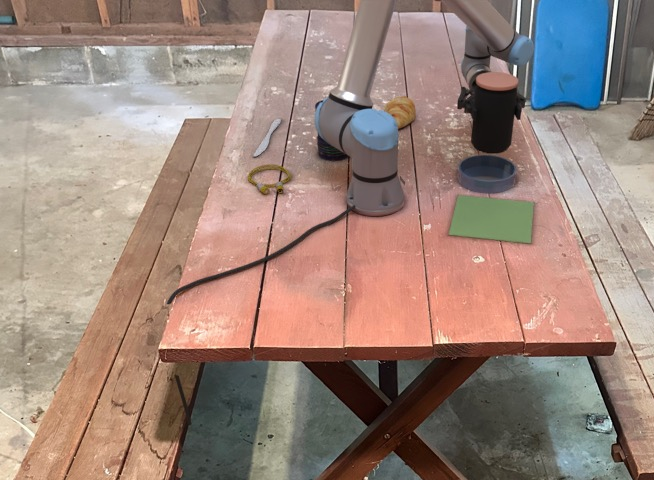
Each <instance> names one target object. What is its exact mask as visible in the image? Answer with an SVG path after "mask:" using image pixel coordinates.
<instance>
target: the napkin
mask: <svg viewBox="0 0 654 480" xmlns="http://www.w3.org/2000/svg"><path fill="white" fill-rule="evenodd" d="M534 205H535V202H534V201H526V200H525V201H524V200H513V199H504V198H493V197H485V196H484V197H483V196H472V195H464V194H463V195H462V194H457V198H456V202H455V207H454V211H453V215H452V219H451V223H450V227H449V231H448V236H451V237H452V236H453V237H462V238H472V239H480V240H489V241H499V242H509V243H518V244H528V245H531V244H532V231H533V217H534Z"/></svg>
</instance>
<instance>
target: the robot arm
mask: <svg viewBox="0 0 654 480" xmlns="http://www.w3.org/2000/svg"><path fill="white" fill-rule="evenodd" d="M434 2H441V3H443V5H445V6H446V7H447V9H449V10H450V11H451V12H452V13H453V14H454V15H455V16H456V17H457V18H458V19H459V20H460V21H461V22H462V23H463V24H465V26H466V27H465V39H464V54H463V59H462V61H461V63H460V70H461V74H462V77H463V78H464V81H465V83H466V85H467V87H468V88H466V86H461V87H460V94H459V96H458V98H457V104H456V109H457V110H462V109H463V113H465V114H470V117H471V119H472V122H473V121H476V116H477V110H476V107H475V105H474V98H475V87H476V86H477V83H476V77H477V76H478V75H480V74H483V73H488V72H493V71H492V69H491V57H493V58H495V59H498V60H501V61H503V62H505V63H508V64H509V65H511V66H512V65H514V66H516V67H523V66H525V65H527V64H528V63H529V62H530V60H531V59H532V58H533V55H534V53H535V52H534V51H535V45H534V41H533V40H532V39H531V38H529V37H527V36H526V35H524V34H520V33H519V32H518V31H517V30H516V29H515V28H514V27H513V26H512V25H511V24H510V23H509V22H508V21H507V20H506V19H505V18H504V17H503V16H502V14H500V12H499V11H497V9H496V8H495V7H494V6H493V5H492V4H491V3H490V2H489V1H488V0H434ZM396 4H397V0H359V2H358V7H357V10H356V14H355V17H354V21H353V26H352V30H351V32H350V37H349V41H348V44H347V49H346V51H345V52H346V53H345V55H344V59H343V63H342V68H341V71H340V74H339V79H338V82H337V85H336V86H335V87H334V88H331V89H330V90H329V93H328V96H327V97H325V98H324V99H322V100H323V102H322V103H320V104H319V105H318V107H317V109H316V112H314V119H313V121H314V127H315V130H316V132H317V135H318V134H319V135H320V136H321V137H322V138H323V139H324V140H325V141H326V142H327V143H328V144H330V145H331V146H334V147H336V148H337V149H339V150H340V151H342V152H344V153H345V154H347V155H348V156H349V158H351V168H352V176H351V179H350V183H349V186H348V189H347V192H346V198H345V199H346V205H347V207H348V208H347V209H345V210H344V211H342V212H341V213H340V214H338V215H337V216H335V217H334V218H332V219H329V220H327V221H323V222H321V223H319V224H316V225H314V226H312V227H310V228H308V229H307V230H306V231H305V232H303V233H302V234H301V235H300V236H298V237H297V238H296V239H294V240H292V242H290V243H288V244H287V245H285V246H284V247H282V248H280V249H278V250H276V251H274V252H273V253H270V254H269V255H267V256H264V257H262V258H260V259H257V260H255V261H252V262H249V263H246V264H244V265H241V266H238V267H235V268H232V269H229V270H226V271H223V272H219V273H217V274H213V275H209V276H206V277H203V278H200V279H197V280H194V281H192V282H190V283H188V284H186V285H183V286H180V287H178V288H177V289H176V290H174V291H173V292H172V294H171V295H169V298H168V300H167V302H166V305H171V304H172V303H173V301H174V299H175V298H176V297H177V296H178V295H179V294H180V293H182V292H184V291H186V290H188V289H191V288H193V287H194V286H197V285H199V284H203V283H206V282H208V281H212V280H216V279H219V278H222V277H225V276H228V275H231V274H234V273H239V272H241V271H244V270H247V269H250V268H252V267H255V266H257V265H260V264H262V263H264V262H267V261H268V260H270V259H273V258H275V257H276V256H279V255H281V254H282V253H284V252H286V251H287V250H289V249H290V248H292V247H294V246H295V245H298V243H299V242H301V241H302V240H303V239H305V238H306V237H307V236H308V235H309V234H311V233H312V232H314V231H316V230H318V229H320V228H322V227H323V228H324V227H325V226H328V225H331V224H332V223H335V222H337V221H339V220H340V219H342V218H343V217H344V216H346V215H348V214H349V213H350V212H354V213H356V214H358V215H362V216H367V217H383V216H389V215H392V214H394V213H396V212H398V211H400V210H401V209H402V208H403V207H404V205H405V192H404V190H403V187H402V184H403V185H404V186H406V181H405V180H404V179H403V177H402V176H401V175H398V172H399V169H398V168H399V138H400V134H399V129H398V125H397V122H396V120H395V119H394V117H393V116H391V115H390V114H389V113H387V112H384V110H381V109H378V110H377V109H376V108H373V107H374V102H373V101H372V98H371V91H372V88H373V86H374V85H373V84H374V81H375V78H376V74H377V71H378V69H379V64H380V60H381V57H382V53H383V50H384V46H385V43H386V40H387V36H388V33H389V30H390V25H391V22H392V18H393V15H394V11H395V8H396ZM526 101H527V98H526V97H525V96H523V95H522V94H521V93H519V92H518V91H517V99H516V107H515V116H514V118H516V120H517V121H521V116H522V112H523V109H525V108H526ZM401 183H402V184H401ZM174 379H175V382H176V385H177V389H178V392H179V395H180V399H181V402H182V406H183V409H184V413H185V417H186V422H187V426H191V425H192V420H191V415H190V410H189V408H188V403H187V400H186V397H185V393H184V390H183V386H182V383H181V379H180V376H179V375H177V374H174Z"/></svg>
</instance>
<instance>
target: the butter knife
mask: <svg viewBox="0 0 654 480" xmlns="http://www.w3.org/2000/svg"><path fill="white" fill-rule="evenodd" d="M281 122H282V119H281V118H275V119H274V120H273V122H272V123H271V125H270V127H269V130H268V131H267V133H266V135H265V136H264V138H263V139H262V141H261V142H260V144H259V146H258V147H257V149H256V150H255V152H254V153H253V155H252V157H258V156H259V155H261V154H262V153H263V152H264V151H266V149H267V147H268V145H269V143H270V138H271V136H272V134H273V133H274V131H275V130H276V129H277V128H278V127H279V126H280V124H281Z"/></svg>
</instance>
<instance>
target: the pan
mask: <svg viewBox="0 0 654 480" xmlns="http://www.w3.org/2000/svg"><path fill="white" fill-rule="evenodd" d="M517 173H518V168H517V165H516V164H515V163H514V162H513V161H512V160H509V159H508V158H506V157H503V156H501V155H496V154H495V155H494V154H475V155H471V156H467V157H464V158H463V159H461V160H460V162H458V165H457V182H458V183H459V184H460V186H462V187H463V188H465V189H467V190H469V191H472V192H476V193H480V194H497V193H503V192H506V191H508V190H510V189H512V188H513V187H514V185H515V184H516V182H517Z"/></svg>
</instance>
